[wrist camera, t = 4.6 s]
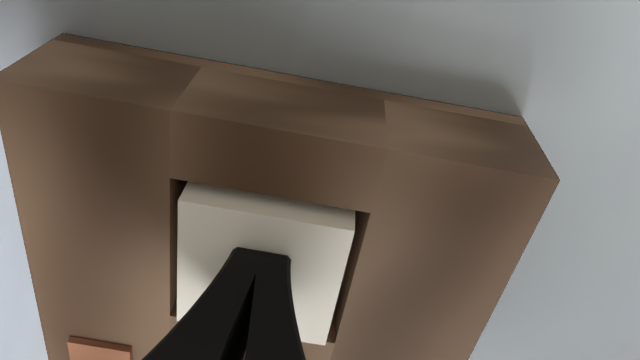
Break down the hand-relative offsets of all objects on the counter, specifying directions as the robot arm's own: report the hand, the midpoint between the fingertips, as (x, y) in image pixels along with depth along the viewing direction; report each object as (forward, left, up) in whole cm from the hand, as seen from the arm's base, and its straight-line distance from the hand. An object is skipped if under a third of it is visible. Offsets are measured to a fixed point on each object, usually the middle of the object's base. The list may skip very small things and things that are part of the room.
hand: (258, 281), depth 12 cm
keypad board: (0, +6, -3) cm, 7 cm away
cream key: (0, 0, -3) cm, 3 cm away
